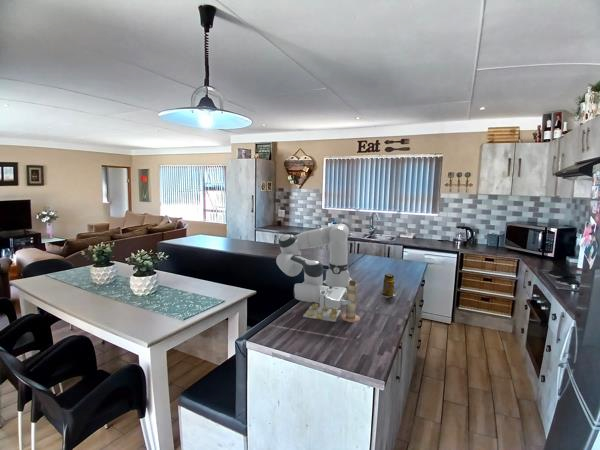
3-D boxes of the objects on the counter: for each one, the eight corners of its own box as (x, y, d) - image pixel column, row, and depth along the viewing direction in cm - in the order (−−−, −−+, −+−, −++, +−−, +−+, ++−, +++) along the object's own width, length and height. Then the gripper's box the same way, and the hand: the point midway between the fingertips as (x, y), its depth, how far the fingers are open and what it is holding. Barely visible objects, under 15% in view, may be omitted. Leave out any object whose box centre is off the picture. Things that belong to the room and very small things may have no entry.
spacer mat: (310, 306, 165) (310, 302, 165) (340, 311, 160) (341, 306, 160) (302, 317, 152) (302, 312, 151) (335, 323, 147) (335, 317, 146)
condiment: (396, 295, 185) (397, 275, 183) (386, 298, 180) (387, 278, 179) (386, 291, 191) (388, 272, 189) (377, 294, 186) (378, 274, 185)
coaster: (342, 313, 157) (342, 312, 157) (360, 316, 155) (361, 315, 154) (339, 321, 149) (339, 319, 149) (358, 324, 146) (358, 322, 146)
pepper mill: (346, 314, 154) (348, 278, 152) (355, 316, 153) (358, 279, 151) (344, 318, 150) (346, 280, 148) (354, 319, 149) (356, 281, 146)
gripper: (329, 294, 164) (355, 297, 160) (319, 308, 145) (349, 313, 141) (329, 282, 164) (356, 285, 159) (319, 295, 144) (349, 299, 140)
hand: (353, 298), depth 150 cm, fingers open, 8 cm apart
